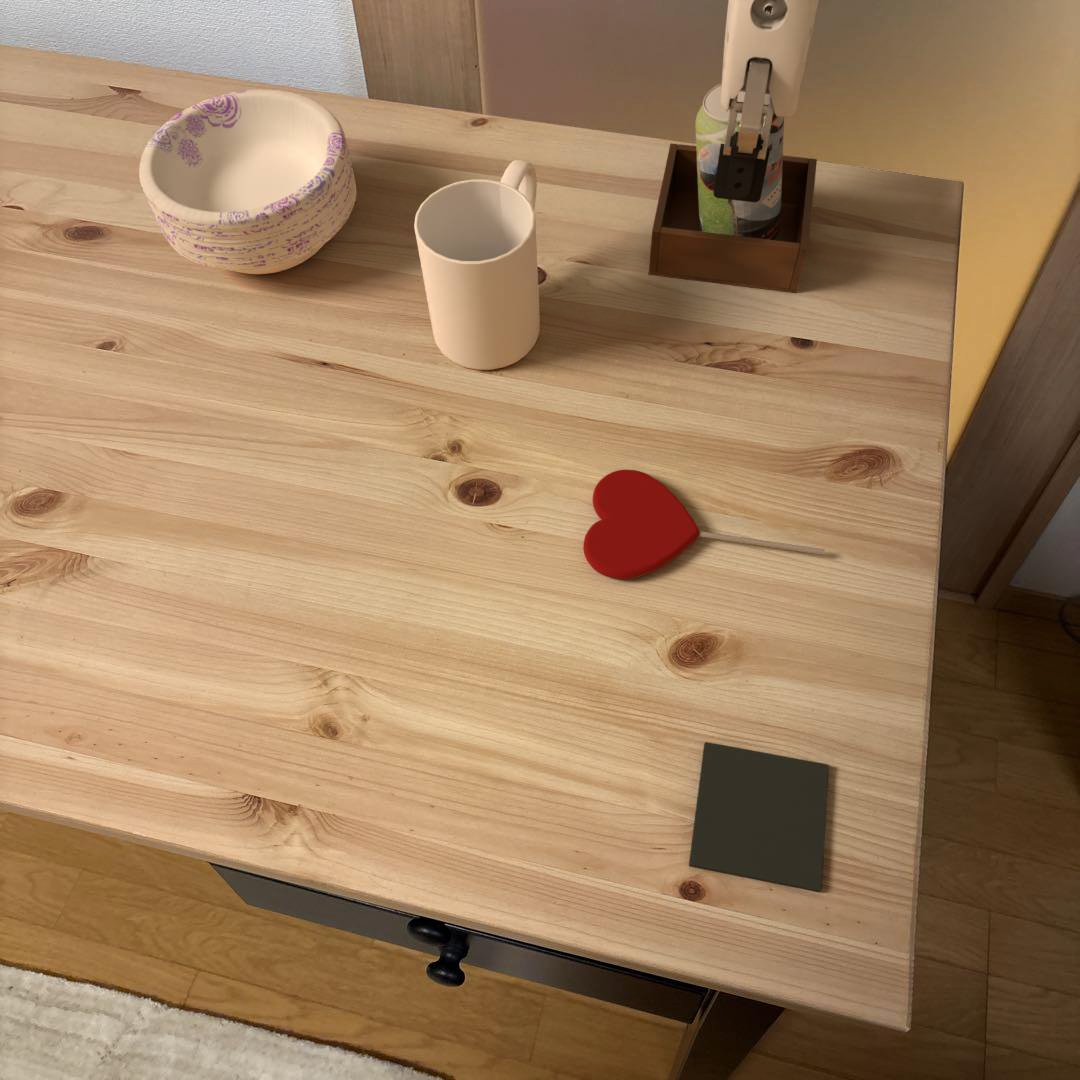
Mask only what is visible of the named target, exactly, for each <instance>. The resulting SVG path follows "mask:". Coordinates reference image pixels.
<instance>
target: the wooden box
mask: <svg viewBox="0 0 1080 1080" xmlns="http://www.w3.org/2000/svg"><path fill="white" fill-rule="evenodd" d="M817 164H818V159H817V158H808V157H803V156H802V157H800V156H794V155H793V156H791V155H783V162H782V189H781V216H780V229H779V232H778V234H777V236H776V238H775V239H774V240H768V239H760V238H751V237H743V236H734V235H726V234H717V233H709V232H701V231H700V222H699V198H698V175H697V151H696V145H691V144H680V143H673V142H671V143H670V144H669V148H668V153H667V158H666V162H665V168H664V171H663V172H664V173H663V176H662V182H661V187H660V192H659V196H658V200H657V205H656V210H655V215H654V219H653V225H652V229H651V230H652V231H651V239H650V249H649V250H650V251H649V262H648V275H650V276H658V277H666V278H674V279H681V280H689V281H690V280H691V281H698V282H707V283H714V284H722V285H730V286H738V287H744V288H745V287H746V288H753V289H760V290H761V289H762V290H769V291H776V292H777V291H779V292H784V293H785V292H786V293H793V294H797V293H798V291H799V286H800V282H801V278H802V274H803V271H804V268H805V263H806V259H807V256H808V253H809V245H810V234H811V227H812V226H811V225H812V224H811V223H812V216H813V215H812V214H813V206H814V205H813V204H814V195H815V184H816V175H817Z"/></svg>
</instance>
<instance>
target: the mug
mask: <svg viewBox="0 0 1080 1080" xmlns="http://www.w3.org/2000/svg"><path fill="white" fill-rule="evenodd" d="M537 185H538V184H537V172H536V168H535V166H534V165H533V164H532V163H531V162H529V161H526V160H522V159H514V160H513V161H511V162H510V163H509V165H508V166H507V168H506V169H505V170H504V173H503V174H502V177H501V180H500V181H497V180H492V179H466V180H461V181H456V182H453V183H450V184H448V185H445V186H442V187H440V188H439V189H438V190H436V191H434V192H432V193H431V194H429V196H428V197H427V198H426V199H425V200H424V201H423V202H422V203H421V204H420V206H419V208H418V209H417V211H416V213H415V216H414V225H413V227H414V233H415V239H416V244H417V250H418V256H419V261H420V267H421V272H422V278H423V279H422V280H423V284H424V290H425V295H426V296H425V297H426V301H427V306H428V312H429V313H428V314H429V318H430V323H431V324H430V325H431V330H432V334H433V338H434V342H435V344H436V346H437V348H438V349H439V351H440V352H441V353H442V354H443V356H445V357H446V358H447V359H448V360H450V361H451V362H452V363H454V364H456V365H459V366H461V367H463V368H467V369H470V370H471V369H472V370H476V371H493V370H497V369H502V368H506V367H508V366H511V365H513V364H515V363H517V362H519V361H520V360H521V359H523V358H524V357H525V356H527V355H528V354H529V352H530V351H531V350H532V349H533V348H534V346H535V345H536V343H537V340H538V338H539V335H540V330H541V328H540V327H541V319H540V318H541V317H540V314H541V313H540V293H539V291H540V290H539V274H538V273H539V271H538V269H539V268H538V249H537V248H538V247H537V245H538V244H537V225H536V212H535V208H536V207H535V206H536V201H537V200H536V199H537V187H538V186H537Z"/></svg>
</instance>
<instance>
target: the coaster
mask: <svg viewBox="0 0 1080 1080" xmlns="http://www.w3.org/2000/svg"><path fill="white" fill-rule="evenodd" d="M702 750H703V751H702V757H701V758H702V759H701V767H700V773H699V782H698V789H697V798H696V806H695V814H694V822H693V830H692V838H691V846H690V851H689V852H690V853H689V859H688V860H689V861H688V867H689V868H691V867H692V868H696V869H700V870H706V871H711V872H715V873H721V874H725V875H731V876H735V877H736V876H737V877H740V878H746V879H751V880H755V881H760V882H766V883H771V884H775V885H781V886H785V887H791V888H794V889H795V888H796V889H801V890H805V891H809V892H816V893H821V892H822V885H823V869H824V853H825V837H826V836H825V835H826V822H827V821H826V820H827V806H828V805H827V803H828V788H829V787H828V786H829V771H830V765H829V764H828V763H823V762H817V761H812V760H806V759H800V758H795V757H789V756H784V755H778V754H773V753H768V752H762V751H756V750H752V749H745V748H740V747H735V746H730V745H724V744H718V743H715V742H714V743H713V742H708V741H705V742H704V744H703V749H702Z"/></svg>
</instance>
